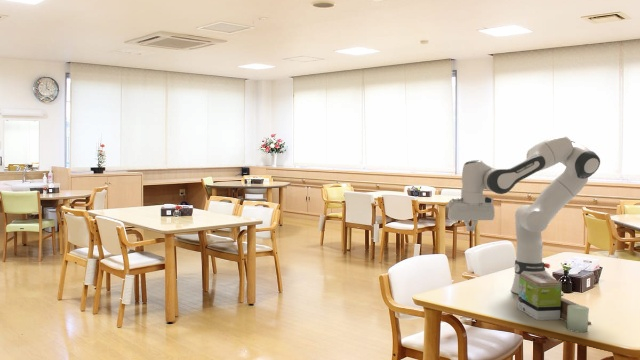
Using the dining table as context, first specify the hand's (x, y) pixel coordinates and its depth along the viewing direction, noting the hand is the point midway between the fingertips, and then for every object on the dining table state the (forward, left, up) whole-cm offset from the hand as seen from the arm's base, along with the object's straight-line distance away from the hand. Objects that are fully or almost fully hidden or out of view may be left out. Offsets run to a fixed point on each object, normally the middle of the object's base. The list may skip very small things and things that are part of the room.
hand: (470, 230), depth 248 cm
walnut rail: (-25, +29, -29) cm, 48 cm away
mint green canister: (-20, +45, -29) cm, 57 cm away
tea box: (-17, +26, -29) cm, 43 cm away
